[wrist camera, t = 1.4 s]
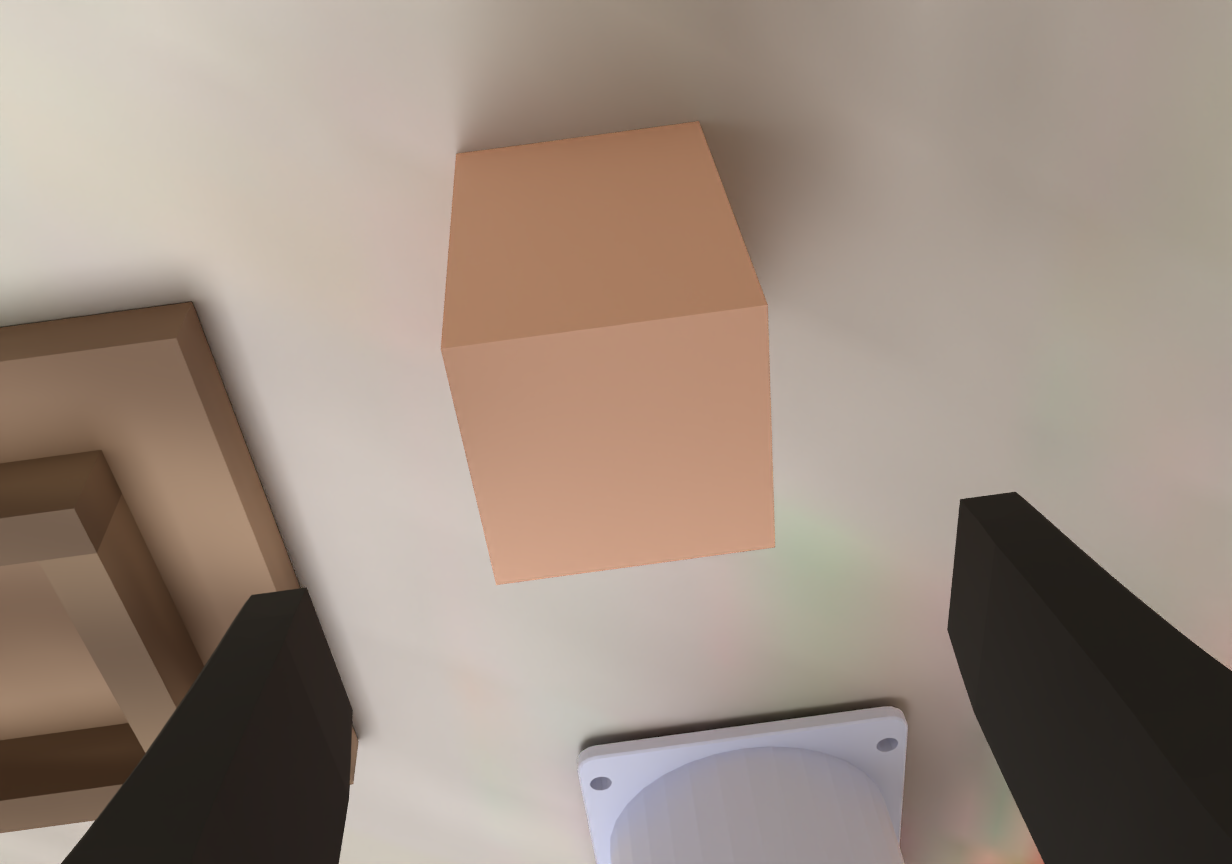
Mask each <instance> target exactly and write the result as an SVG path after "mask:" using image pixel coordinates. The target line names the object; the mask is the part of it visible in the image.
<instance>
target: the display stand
mask: <svg viewBox="0 0 1232 864" xmlns="http://www.w3.org/2000/svg"><path fill="white" fill-rule="evenodd" d="M299 588H300V586H299V583H298V581H297V578H296V575H295V573H294V570H293V567H292V565H291V562H290V559H289V557H288V554H287V551H286V549H285V546H284V544H283V541H282V538H281V536H280V533H279V530H278V528H277V525H276V522H275V520H274V517H273V515H272V512H271V509H270V507H269V504H268V501H267V499H266V496H265V493H264V491H263V488H262V485H261V483H260V480H259V478H258V475H257V472H256V470H255V467H254V464H253V462H252V459H251V456H250V454H249V451H248V448H247V446H246V443H245V441H244V438H243V435H242V433H241V430H240V427H239V425H238V422H237V419H236V417H235V414H234V411H233V409H232V406H231V404H230V401H229V398H228V396H227V393H226V390H225V388H224V385H223V382H222V380H221V377H220V374H219V372H218V369H217V367H216V364H215V361H214V359H213V356H212V353H211V351H210V348H209V345H208V343H207V340H206V337H205V335H204V332H203V330H202V327H201V324H200V322H199V319H198V316H197V314H196V311H195V308H194V306H193V303H192V302H187V303H180V304H172V305H165V306H157V307H150V308H143V309H135V310H128V311H120V312H113V313H105V314H98V315H90V316H83V317H76V318H68V319H61V320H53V321H46V322H38V323H31V324H23V325H16V326H9V327H1V328H0V833H5V832H12V831H19V830H27V829H34V828H42V827H49V826H56V825H64V824H71V823H79V822H86V821H93V820H96V819H97V818H98V816H99V815H100V814H101V812H102V811H103V810H104V808H105V807H106V806H107V804H108V803H109V802H110V800H111V799H112V798H113V797H114V795H115V794H116V793H117V791H118V790H119V789H120V787H121V786H122V785H123V783H124V782H125V781H126V779H127V778H128V777H129V775H130V774H131V773H132V771H133V770H134V769H135V767H136V766H137V765H138V763H139V762H140V760H141V759H142V758H143V756H144V755H145V753H146V752H147V750H148V749H149V747H150V746H151V745H152V743H153V742H154V740H155V739H156V737H157V736H158V734H159V733H160V731H161V730H162V729H163V727H164V726H165V724H166V723H167V721H168V720H169V718H170V717H171V716H172V714H173V713H174V711H175V710H176V708H177V707H178V705H179V704H180V702H181V701H182V699H183V698H184V696H185V695H186V693H187V692H188V690H189V689H190V687H191V686H192V684H193V683H194V681H195V680H196V678H197V677H198V675H199V674H200V672H201V670H202V669H203V667H204V666H205V664H206V663H207V661H208V660H209V658H210V657H211V655H212V653H213V652H214V650H215V649H216V647H217V646H218V644H219V642H220V641H221V639H222V638H223V636H224V635H225V633H226V631H227V630H228V628H229V627H230V625H231V624H232V622H233V620H234V619H235V617H236V616H237V614H238V613H239V611H240V610H241V608H242V607H243V605H244V604H245V602H246V601H247V600H248V599H249V597H250V596H251V595H255V594H262V593H269V592H277V591H284V590H292V589H299ZM357 749H358V739H357V736H356V734H355V731H354V729H353V726H352V743H351V769H350V785H351V784H353V781H354V773H355V765H356V757H357Z"/></svg>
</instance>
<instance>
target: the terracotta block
mask: <svg viewBox="0 0 1232 864" xmlns="http://www.w3.org/2000/svg"><path fill="white" fill-rule="evenodd" d="M441 352H442V356H443V360H444V364H445V369H446V373H447V377H448V381H449V386H450V390H451V394H452V398H453V403H454V407H455V411H456V415H457V420H458V424H459V428H460V432H461V437H462V441H463V445H464V449H465V454H466V458H467V462H468V466H469V471H470V475H471V479H472V483H473V488H474V492H475V496H476V500H477V505H478V509H479V513H480V517H481V522H482V526H483V530H484V534H485V539H486V543H487V547H488V551H489V556H490V560H491V564H492V568H493V573H494V577H495V581H496V585H499V584H507V583H514V582H522V581H529V580H536V579H544V578H551V577H559V576H566V575H573V574H581V573H588V572H596V571H603V570H610V569H618V568H625V567H633V566H640V565H647V564H655V563H662V562H670V561H677V560H685V559H692V558H699V557H707V556H714V555H722V554H729V553H736V552H744V551H751V550H759V549H766V548H773V547H775V527H774V495H773V462H772V430H771V398H770V366H769V333H768V305H767V302H766V299H765V297H764V294H763V291H762V289H761V286H760V283H759V281H758V278H757V275H756V273H755V270H754V267H753V265H752V262H751V259H750V257H749V254H748V251H747V248H746V246H745V243H744V240H743V238H742V235H741V232H740V230H739V227H738V224H737V222H736V219H735V216H734V214H733V211H732V208H731V206H730V203H729V200H728V198H727V195H726V192H725V190H724V187H723V184H722V182H721V179H720V176H719V174H718V171H717V168H716V166H715V163H714V160H713V158H712V155H711V152H710V150H709V147H708V144H707V142H706V139H705V136H704V134H703V131H702V128H701V126H700V123H699V121H697V122H689V123H682V124H674V125H667V126H659V127H652V128H644V129H637V130H629V131H622V132H615V133H607V134H600V135H592V136H585V137H577V138H570V139H562V140H555V141H547V142H540V143H532V144H525V145H518V146H510V147H503V148H495V149H488V150H480V151H473V152H465V153H458V154H456V162H455V175H454V188H453V200H452V213H451V226H450V239H449V251H448V264H447V277H446V289H445V302H444V315H443V328H442V340H441Z"/></svg>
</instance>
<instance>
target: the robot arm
mask: <svg viewBox="0 0 1232 864" xmlns="http://www.w3.org/2000/svg"><path fill="white" fill-rule="evenodd" d="M947 630H948V633H949V636H950V639H951V643H952V646H953V649H954V652H955V655H956V659H957V662H958V665H959V668H960V672H961V675H962V678H963V681H964V684H965V687H966V690H967V693H968V696H969V699H970V702H971V705H972V707H973V710H974V713H975V715H976V718H977V720H978V722H979V724H980V726H981V729H982V731H983V733H984V735H985V737H986V740H987V742H988V744H989V746H990V748H991V750H992V753H993V755H994V757H995V759H996V761H997V763H998V766H999V768H1000V770H1001V772H1002V774H1003V776H1004V779H1005V781H1006V783H1007V785H1008V787H1009V789H1010V791H1011V793H1012V795H1013V798H1014V800H1015V802H1016V804H1017V806H1018V808H1019V810H1020V812H1021V815H1022V817H1023V819H1024V821H1025V823H1026V825H1027V827H1028V829H1029V832H1030V834H1031V836H1032V838H1033V840H1034V842H1035V844H1036V846H1037V849H1038V851H1039V853H1040V855H1041V857H1042V859H1043V861H1044V863H1045V864H1232V671H1231V670H1229V669H1228V668H1227V667H1225V666H1224V665H1223V664H1221V663H1220V662H1218V661H1217V660H1216V659H1214V658H1213V657H1212V656H1210V655H1209V654H1208V653H1206V652H1205V651H1204V650H1202V649H1201V648H1200V647H1199V646H1197V645H1196V644H1195V643H1193V642H1192V641H1191V640H1190V639H1188V638H1187V637H1186V636H1184V635H1183V634H1182V633H1180V632H1179V631H1178V630H1177V629H1176V628H1174V627H1173V626H1172V625H1171V624H1169V623H1168V622H1167V621H1166V620H1164V619H1163V618H1162V617H1161V616H1160V615H1158V614H1157V613H1156V612H1155V611H1153V610H1152V609H1151V608H1150V607H1148V606H1147V605H1146V604H1145V603H1144V602H1142V601H1141V600H1140V599H1139V598H1137V597H1136V596H1135V595H1134V594H1133V593H1131V592H1130V591H1129V590H1128V589H1127V588H1125V587H1124V586H1123V585H1122V584H1121V583H1119V582H1118V581H1117V580H1116V579H1115V578H1114V577H1112V576H1111V575H1110V574H1109V573H1108V572H1107V571H1105V570H1104V569H1103V568H1102V567H1101V566H1100V565H1099V564H1097V563H1096V562H1095V561H1094V560H1093V559H1092V558H1090V557H1089V556H1088V555H1087V554H1086V553H1085V552H1084V551H1082V550H1081V549H1080V548H1079V547H1078V546H1077V545H1076V544H1075V543H1073V542H1072V541H1071V540H1070V539H1069V538H1068V537H1067V536H1065V535H1064V534H1063V533H1062V532H1061V531H1060V530H1059V529H1058V528H1057V527H1055V526H1054V525H1053V524H1052V523H1051V522H1050V521H1049V520H1048V519H1046V518H1045V517H1044V516H1043V515H1042V514H1041V513H1040V512H1039V511H1037V510H1036V509H1035V508H1034V507H1033V506H1032V505H1031V504H1029V503H1028V502H1027V501H1026V500H1025V499H1024V498H1022V497H1021V496H1020V495H1019V494H1018V493H1016V492H1011V493H1003V494H996V495H988V496H981V497H974V498H966V499H960V506H959V516H958V526H957V537H956V547H955V557H954V568H953V578H952V588H951V598H950V609H949V619H948V629H947ZM907 735H908V725H907V721H906V719H905V716H904V713H903V712H902V711H901V710H900V709H899V708H895V707H892V706H883V707H876V708H868V709H861V710H854V711H846V712H839V713H831V714H824V715H817V716H809V717H802V718H794V719H787V720H780V721H772V722H765V723H757V724H750V725H743V726H735V727H728V728H720V729H713V730H706V731H698V732H691V733H683V734H676V735H669V736H661V737H654V738H646V739H639V740H632V741H624V742H617V743H609V744H602V745H595V746H591V747H588V748H586V749H585V750H583V751H581V753H580V754H579V755H578V758H577V768H578V776H579V780H580V785H581V790H582V795H583V800H584V805H585V810H586V815H587V820H588V825H589V830H590V834H591V839H592V844H593V849H594V854H595V859H596V864H905V862H904V859H903V856H902V853H901V850H900V847H899V846H900V832H901V819H902V805H903V791H904V777H905V763H906V749H907ZM351 743H352V707H351V705H350V702H349V699H348V697H347V694H346V691H345V689H344V686H343V683H342V681H341V678H340V675H339V673H338V670H337V667H336V665H335V662H334V659H333V657H332V654H331V651H330V649H329V646H328V643H327V641H326V638H325V635H324V633H323V630H322V627H321V625H320V622H319V619H318V617H317V614H316V611H315V609H314V606H313V603H312V601H311V598H310V595H309V593H308V590H307V587H306V588H299V589H292V590H284V591H277V592H269V593H262V594H255V595H251V596H250V597H249V599H248V600H247V601H246V602H245V604H244V605H243V607H242V608H241V610H240V611H239V613H238V614H237V616H236V617H235V619H234V620H233V622H232V624H231V625H230V627H229V628H228V630H227V631H226V633H225V635H224V636H223V638H222V639H221V641H220V642H219V644H218V646H217V647H216V649H215V650H214V652H213V653H212V655H211V657H210V658H209V660H208V661H207V663H206V664H205V666H204V667H203V669H202V670H201V672H200V674H199V675H198V677H197V678H196V680H195V681H194V683H193V684H192V686H191V687H190V689H189V690H188V692H187V693H186V695H185V696H184V698H183V699H182V701H181V702H180V704H179V705H178V707H177V708H176V710H175V711H174V713H173V714H172V716H171V717H170V718H169V720H168V721H167V723H166V724H165V726H164V727H163V729H162V730H161V731H160V733H159V734H158V736H157V737H156V739H155V740H154V742H153V743H152V745H151V746H150V747H149V749H148V750H147V752H146V753H145V755H144V756H143V758H142V759H141V760H140V762H139V763H138V765H137V766H136V767H135V769H134V770H133V771H132V773H131V774H130V775H129V777H128V778H127V779H126V781H125V782H124V783H123V785H122V786H121V787H120V789H119V790H118V791H117V793H116V794H115V795H114V797H113V798H112V799H111V800H110V802H109V803H108V804H107V806H106V807H105V808H104V810H103V811H102V812H101V814H100V815H99V816H98V818H97V819H96V820H95V822H94V823H93V824H92V826H91V827H90V828H89V830H88V831H87V832H86V833H85V835H84V836H83V837H82V838H81V840H80V841H79V842H78V843H77V845H76V846H75V847H74V848H73V850H72V851H71V852H70V853H69V854H68V856H67V857H66V858H65V859H64V861H63V862H62V863H61V864H339V857H340V851H341V845H342V839H343V833H344V827H345V820H346V814H347V807H348V801H349V788H350V769H351Z"/></svg>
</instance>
